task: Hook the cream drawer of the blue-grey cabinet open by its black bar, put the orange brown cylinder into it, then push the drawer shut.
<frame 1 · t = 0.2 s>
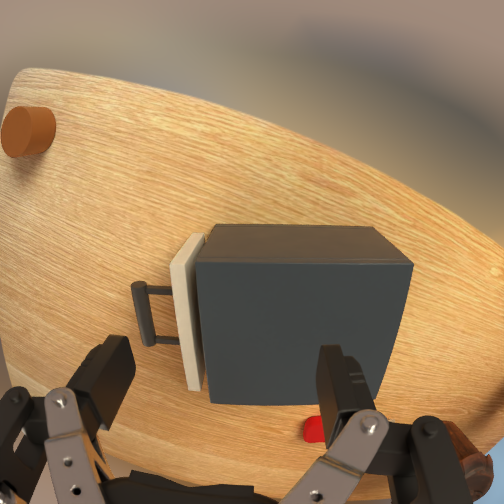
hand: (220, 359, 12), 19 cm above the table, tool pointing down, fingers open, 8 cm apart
popsicle: (350, 421, 40), on the table
drawer: (240, 314, 27), point 5 cm above the table, slide at 1.0 cm
orange brown cylinder: (39, 130, 26), on the table
cabinet: (293, 290, 32), on the table
case: (425, 439, 43), on the table
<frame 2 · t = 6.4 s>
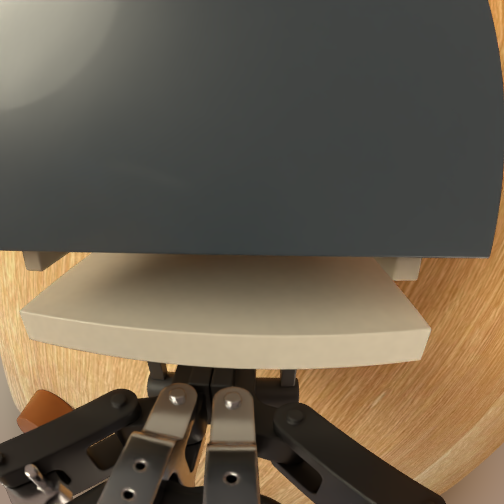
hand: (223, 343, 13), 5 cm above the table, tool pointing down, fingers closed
drawer: (215, 172, 10), point 5 cm above the table, slide at 2.5 cm, touching gripper
orange brown cylinder: (56, 409, 23), on the table
cabinet: (231, 37, 12), on the table
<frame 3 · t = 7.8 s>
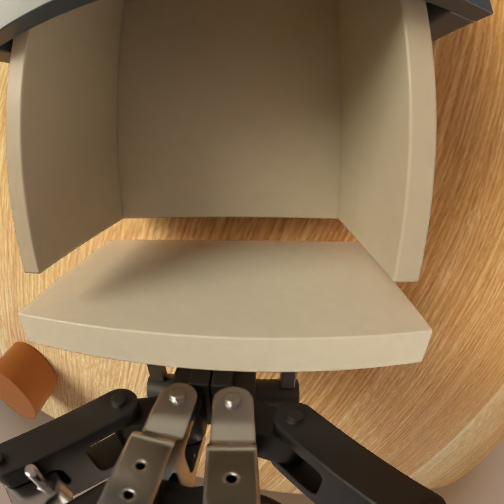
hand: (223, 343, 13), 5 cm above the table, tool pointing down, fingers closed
drawer: (214, 173, 10), point 5 cm above the table, slide at 8.7 cm, touching gripper
orange brown cylinder: (34, 366, 21), on the table
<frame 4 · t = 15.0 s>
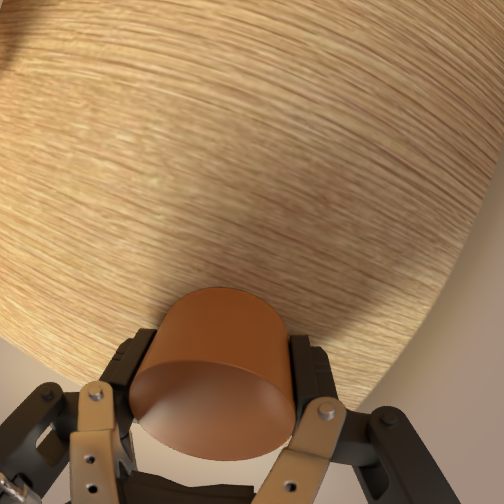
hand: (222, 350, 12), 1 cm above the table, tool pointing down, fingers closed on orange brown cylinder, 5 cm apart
orange brown cylinder: (224, 343, 13), on the table, touching gripper
when the fingers open (10 cm above the table, at t = 31.5 s): orange brown cylinder drops 8 cm, resting on drawer.
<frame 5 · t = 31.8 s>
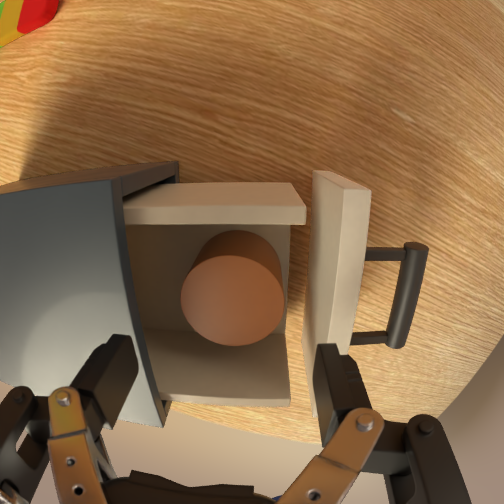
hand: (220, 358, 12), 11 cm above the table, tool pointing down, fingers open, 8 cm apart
popsicle: (8, 25, 15), on the table
drawer: (253, 291, 17), point 5 cm above the table, slide at 8.9 cm, touching orange brown cylinder
orange brown cylinder: (238, 270, 20), point 2 cm above the table, touching drawer
cabinet: (94, 257, 22), on the table
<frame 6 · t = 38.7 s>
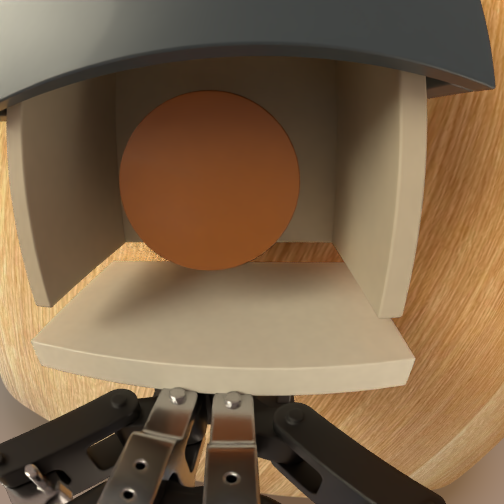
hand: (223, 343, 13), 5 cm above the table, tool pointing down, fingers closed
drawer: (212, 208, 11), point 5 cm above the table, slide at 7.8 cm, touching orange brown cylinder, gripper
orange brown cylinder: (223, 169, 13), point 2 cm above the table, touching drawer
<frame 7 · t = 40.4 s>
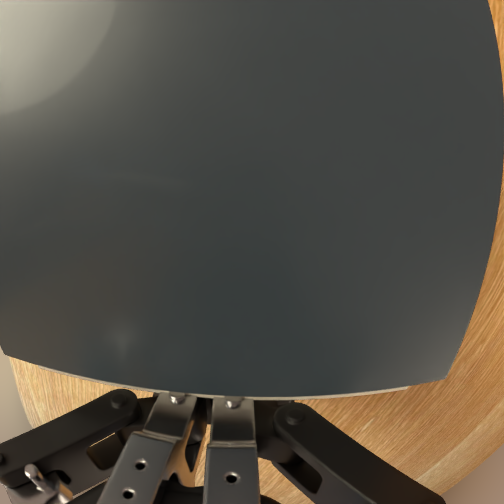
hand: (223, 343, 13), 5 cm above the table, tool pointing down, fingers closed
drawer: (211, 208, 10), point 5 cm above the table, slide at 0.0 cm, touching orange brown cylinder, cabinet, gripper
cabinet: (226, 102, 13), on the table
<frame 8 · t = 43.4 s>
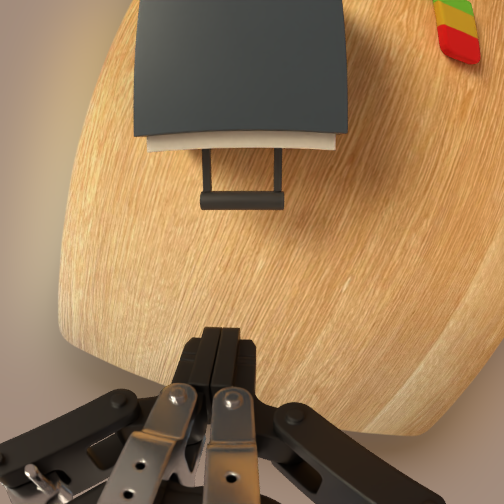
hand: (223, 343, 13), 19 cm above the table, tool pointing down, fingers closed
popsicle: (449, 9, 20), on the table
drawer: (242, 89, 21), point 5 cm above the table, slide at 0.0 cm, touching orange brown cylinder, cabinet
cabinet: (245, 57, 25), on the table
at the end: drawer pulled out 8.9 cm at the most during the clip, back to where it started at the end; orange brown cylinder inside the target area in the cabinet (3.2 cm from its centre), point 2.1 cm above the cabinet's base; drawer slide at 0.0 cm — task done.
